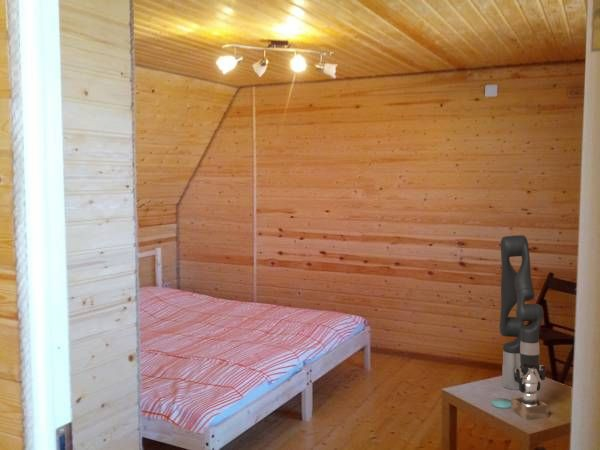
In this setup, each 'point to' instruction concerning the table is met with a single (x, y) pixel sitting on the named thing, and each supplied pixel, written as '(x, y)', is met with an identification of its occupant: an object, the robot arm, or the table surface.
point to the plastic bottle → (530, 390)
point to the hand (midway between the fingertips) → (529, 391)
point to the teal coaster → (501, 403)
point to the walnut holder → (529, 409)
